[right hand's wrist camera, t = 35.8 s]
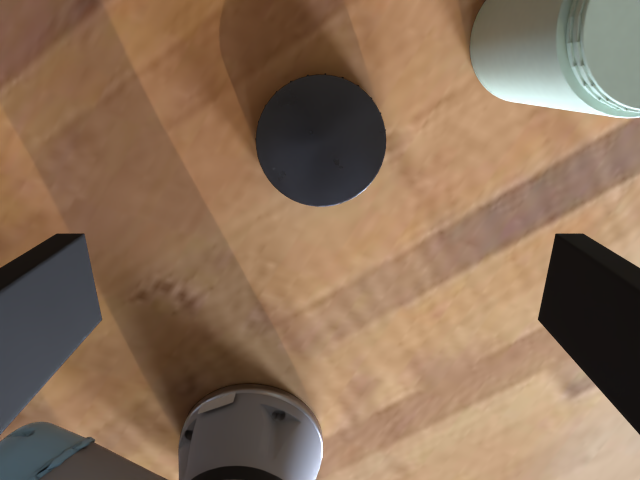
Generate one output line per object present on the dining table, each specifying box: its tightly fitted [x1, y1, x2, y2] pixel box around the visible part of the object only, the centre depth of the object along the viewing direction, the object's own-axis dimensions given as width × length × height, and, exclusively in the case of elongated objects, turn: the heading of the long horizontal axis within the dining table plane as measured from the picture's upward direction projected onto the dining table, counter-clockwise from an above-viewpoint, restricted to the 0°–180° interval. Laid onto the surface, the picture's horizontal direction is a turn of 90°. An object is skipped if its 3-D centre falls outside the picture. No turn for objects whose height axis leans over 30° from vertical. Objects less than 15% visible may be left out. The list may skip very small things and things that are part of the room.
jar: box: [470, 0, 640, 118], centre depth 27 cm, size 9×9×15 cm
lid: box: [256, 74, 386, 207], centre depth 36 cm, size 10×10×2 cm
